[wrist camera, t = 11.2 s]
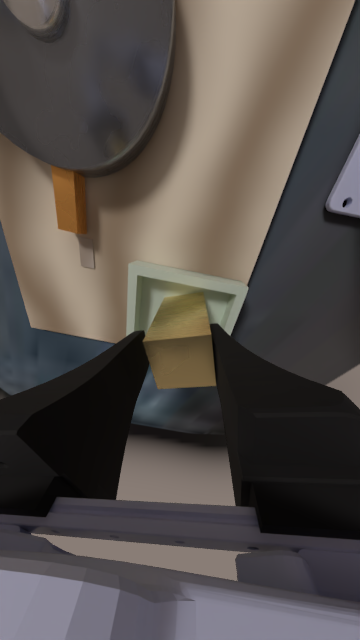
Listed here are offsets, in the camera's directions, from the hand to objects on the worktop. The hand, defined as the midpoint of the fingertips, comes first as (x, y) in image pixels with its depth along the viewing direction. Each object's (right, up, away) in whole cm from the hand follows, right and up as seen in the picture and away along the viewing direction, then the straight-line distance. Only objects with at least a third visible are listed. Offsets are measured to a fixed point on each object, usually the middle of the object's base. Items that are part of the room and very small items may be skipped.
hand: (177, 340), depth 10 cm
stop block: (+1, +2, +2) cm, 3 cm away
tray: (0, +2, +3) cm, 3 cm away
